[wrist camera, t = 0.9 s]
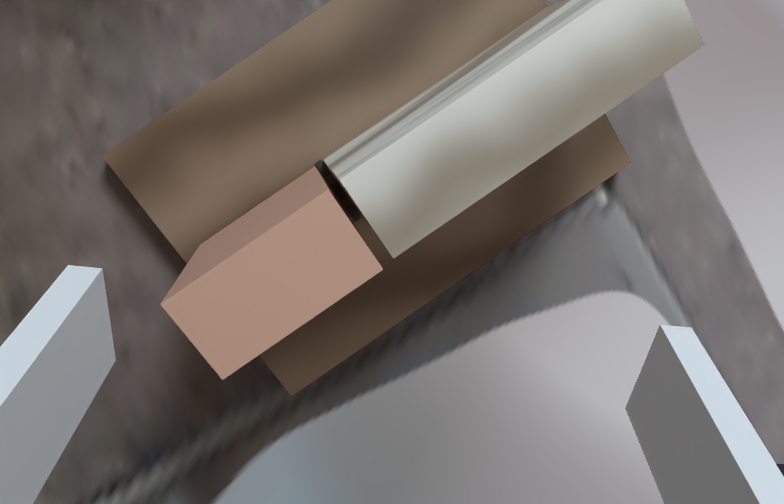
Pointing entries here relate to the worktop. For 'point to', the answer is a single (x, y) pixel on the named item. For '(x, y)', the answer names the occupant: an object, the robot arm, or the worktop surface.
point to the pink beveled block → (269, 274)
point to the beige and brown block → (407, 139)
